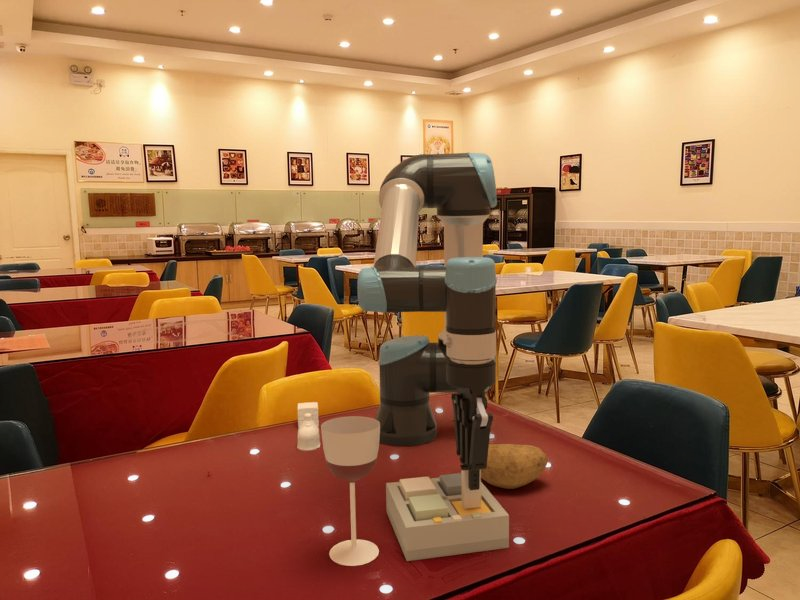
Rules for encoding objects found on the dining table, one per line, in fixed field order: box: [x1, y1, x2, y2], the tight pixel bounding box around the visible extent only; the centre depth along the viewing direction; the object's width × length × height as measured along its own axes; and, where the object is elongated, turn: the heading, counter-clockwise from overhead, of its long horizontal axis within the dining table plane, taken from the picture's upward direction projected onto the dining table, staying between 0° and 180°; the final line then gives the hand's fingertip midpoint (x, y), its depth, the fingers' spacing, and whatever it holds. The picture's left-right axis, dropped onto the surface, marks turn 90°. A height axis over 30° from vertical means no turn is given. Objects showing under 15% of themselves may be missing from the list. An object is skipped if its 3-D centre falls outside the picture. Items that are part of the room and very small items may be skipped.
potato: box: [481, 443, 549, 490], centre depth 114 cm, size 10×14×8 cm
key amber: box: [451, 499, 491, 516], centre depth 95 cm, size 5×5×3 cm
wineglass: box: [320, 415, 380, 567], centre depth 90 cm, size 8×9×20 cm
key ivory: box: [399, 475, 436, 501], centre depth 100 cm, size 5×5×3 cm
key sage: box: [409, 494, 448, 521], centre depth 93 cm, size 5×5×3 cm
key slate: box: [438, 472, 462, 496], centre depth 101 cm, size 5×5×3 cm
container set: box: [296, 401, 321, 452], centre depth 143 cm, size 20×5×6 cm, turn 9°
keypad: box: [385, 477, 510, 562], centre depth 98 cm, size 16×16×6 cm
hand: (471, 505), depth 95 cm, fingers closed
